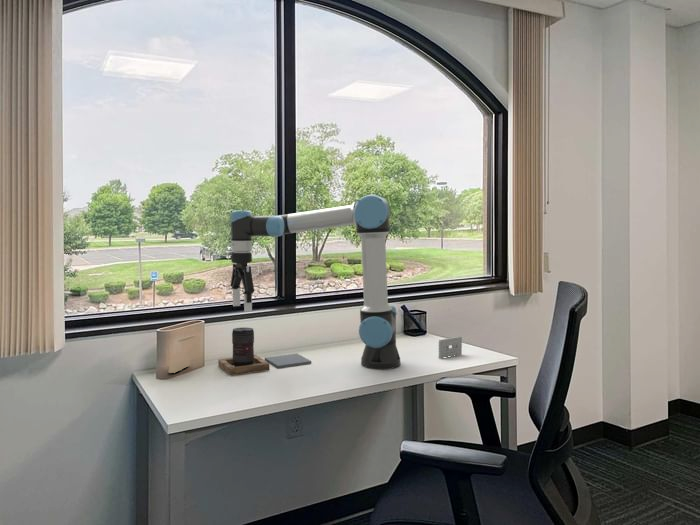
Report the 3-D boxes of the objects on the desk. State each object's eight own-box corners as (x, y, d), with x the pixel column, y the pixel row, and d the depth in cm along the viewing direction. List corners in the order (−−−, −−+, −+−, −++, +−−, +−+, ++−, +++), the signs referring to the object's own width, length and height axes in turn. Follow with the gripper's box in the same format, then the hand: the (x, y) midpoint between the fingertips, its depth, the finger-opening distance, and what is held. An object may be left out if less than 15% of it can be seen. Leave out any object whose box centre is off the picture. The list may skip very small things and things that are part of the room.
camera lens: (257, 368, 210) (257, 329, 209) (237, 372, 206) (236, 332, 204) (250, 364, 217) (249, 325, 215) (229, 367, 213) (229, 328, 211)
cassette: (440, 359, 224) (440, 340, 223) (437, 358, 225) (437, 339, 225) (462, 355, 230) (462, 337, 230) (459, 354, 232) (459, 336, 231)
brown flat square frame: (269, 370, 208) (269, 363, 208) (230, 375, 201) (230, 368, 201) (255, 360, 221) (255, 354, 221) (218, 365, 214) (218, 359, 214)
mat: (311, 363, 217) (311, 361, 217) (277, 368, 210) (277, 365, 210) (296, 355, 229) (296, 353, 229) (264, 360, 223) (264, 357, 223)
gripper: (221, 250, 217) (222, 304, 218) (242, 254, 195) (243, 314, 197) (240, 249, 220) (241, 303, 222) (262, 253, 199) (263, 312, 200)
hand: (242, 308), depth 209 cm, fingers open, 13 cm apart
